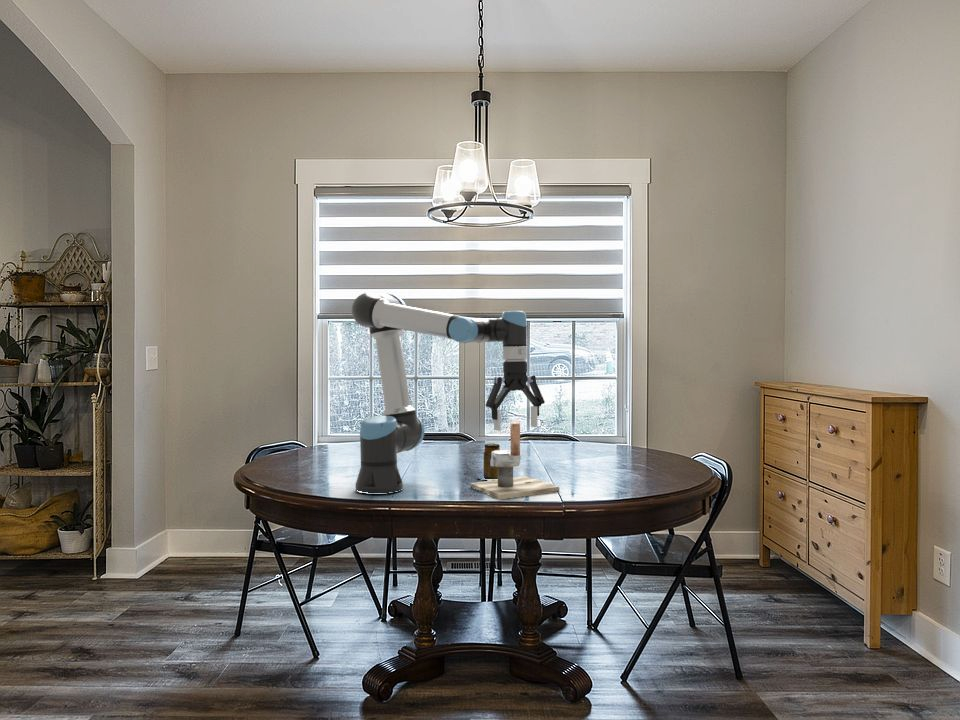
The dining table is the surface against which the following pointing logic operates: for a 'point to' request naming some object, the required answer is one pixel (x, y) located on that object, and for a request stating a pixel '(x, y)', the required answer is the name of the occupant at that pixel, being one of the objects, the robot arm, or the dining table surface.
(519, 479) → the post base
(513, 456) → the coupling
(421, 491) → the dining table surface
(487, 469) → the condiment
